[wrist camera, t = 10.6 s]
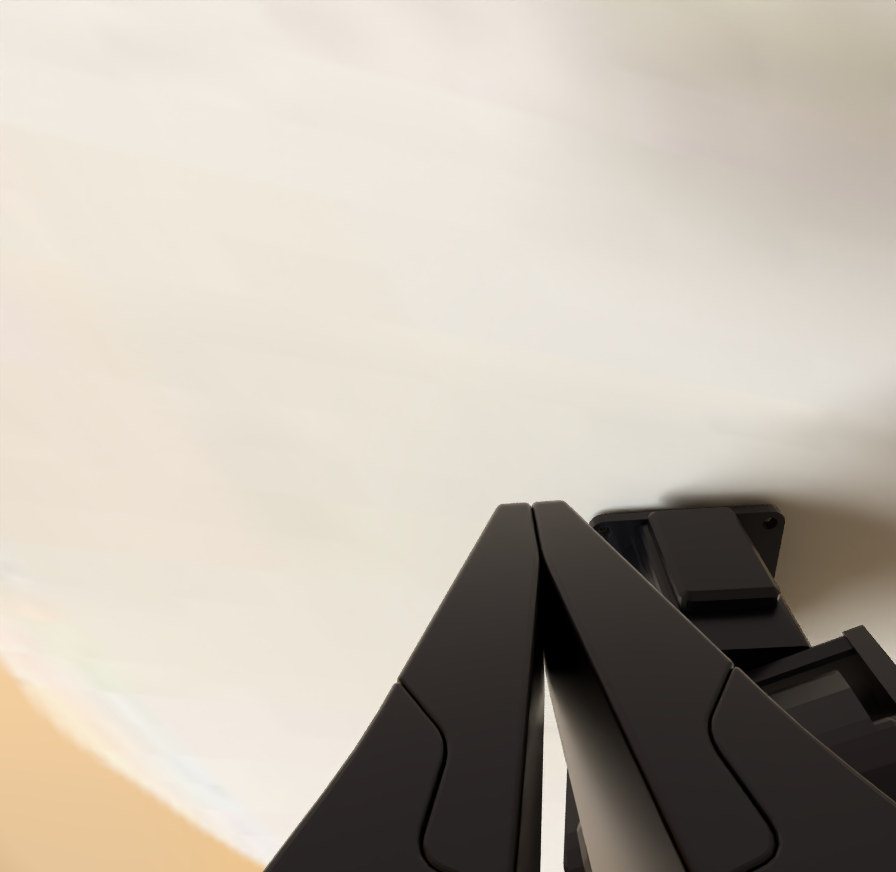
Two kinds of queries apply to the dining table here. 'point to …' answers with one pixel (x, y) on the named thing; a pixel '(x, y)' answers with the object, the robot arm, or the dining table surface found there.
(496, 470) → the dining table surface
